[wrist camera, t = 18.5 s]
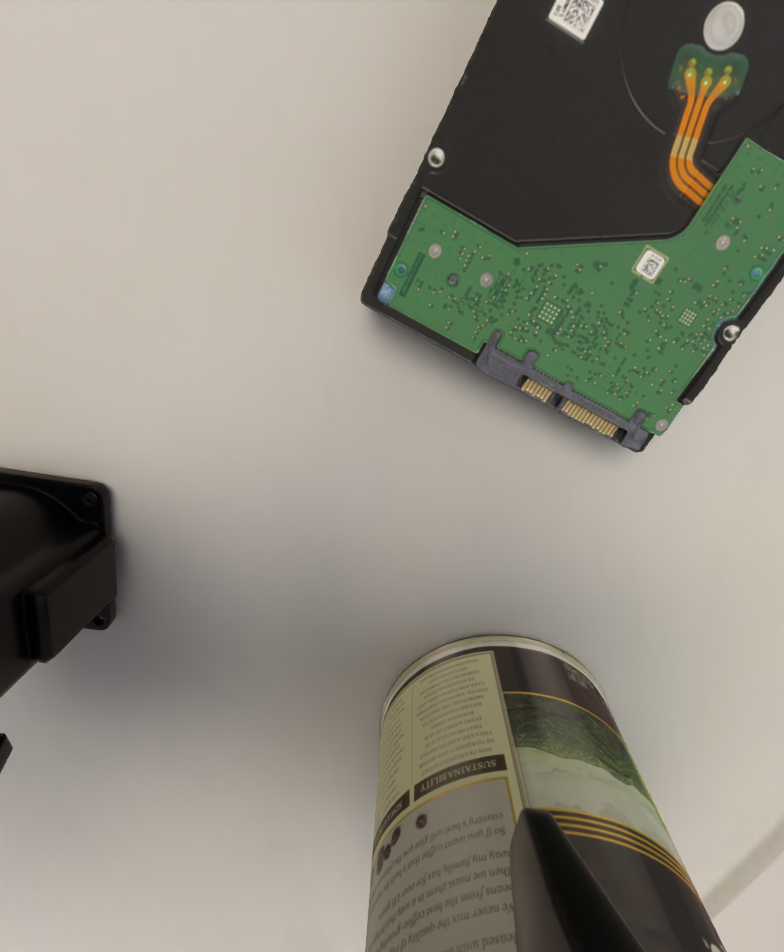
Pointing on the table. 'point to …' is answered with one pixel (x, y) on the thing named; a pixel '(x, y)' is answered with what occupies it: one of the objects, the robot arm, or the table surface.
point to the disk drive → (599, 204)
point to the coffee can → (511, 802)
